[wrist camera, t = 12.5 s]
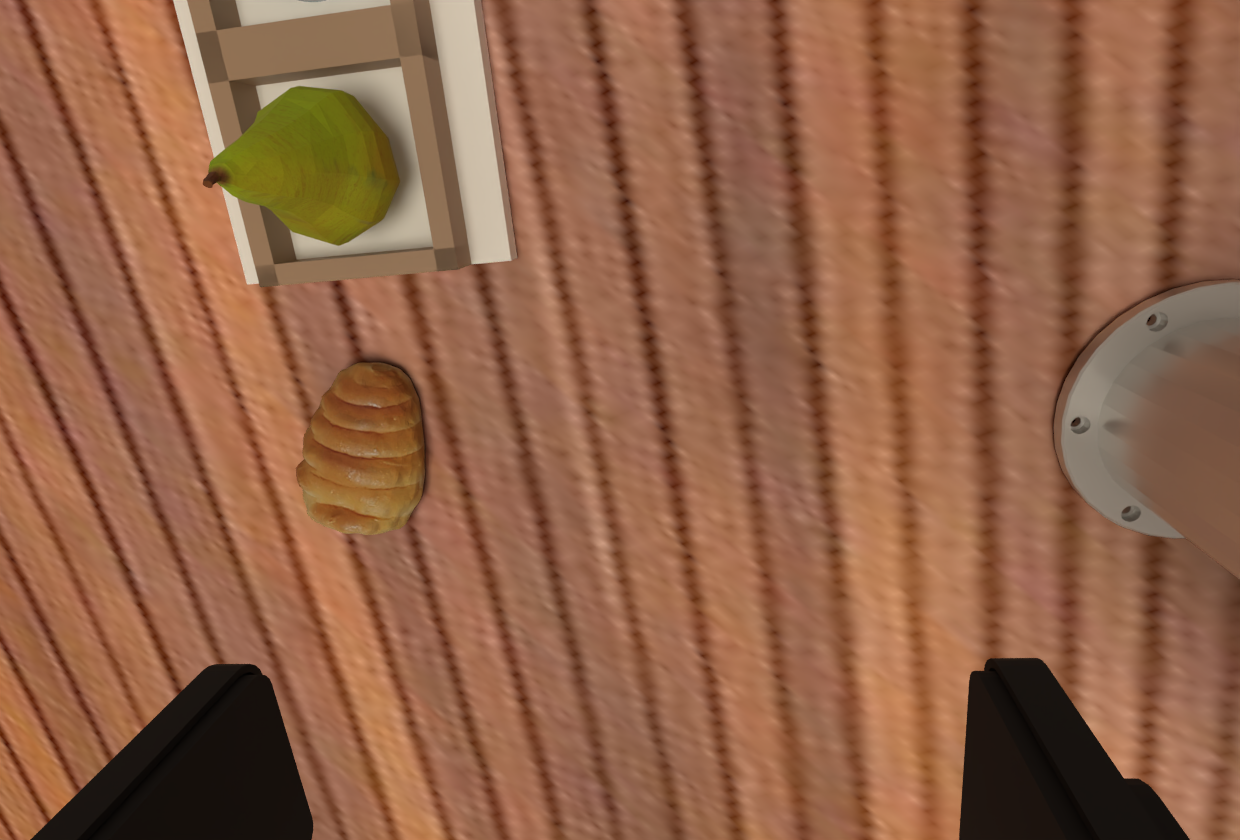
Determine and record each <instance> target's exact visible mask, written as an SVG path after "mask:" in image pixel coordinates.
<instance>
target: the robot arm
mask: <svg viewBox="0 0 1240 840" xmlns="http://www.w3.org/2000/svg"><path fill="white" fill-rule="evenodd" d="M1150 316H1151V319H1150V321H1149V322H1148V323H1147V320H1148V318H1149V317H1150ZM1075 418H1076V421H1075V422H1074V423H1072V421H1073V420H1074V419H1075ZM1054 441H1055V450H1056V453H1057V456H1058V460H1059V463H1060V466H1061V469H1062V471H1063V473H1064V474H1065V476H1066V478H1067V479H1068V481H1069V483H1070V485H1071V486H1072V488H1073V489H1074V490H1075V491H1076V492H1077V493H1078V494H1079V495H1080V496H1081V497H1082V498H1083V499H1084V500H1085V501H1086V502H1087V503H1088V504H1089V505H1090V506H1091V507H1093V508H1094V509H1095V510H1096V511H1098V512H1099V513H1100V514H1101V515H1102V516H1104V517H1105V518H1107V519H1108V520H1110V521H1112V522H1114V523H1116V524H1117V525H1119V526H1121V527H1123V528H1126V529H1129V530H1132V531H1136V532H1139V533H1142V534H1145V535H1149V536H1156V537H1164V538H1172V539H1182V538H1186V539H1188V540H1189V541H1190V542H1191V543H1193V544H1194V545H1195V546H1197V547H1198V548H1199V549H1201V550H1202V551H1203V552H1204V553H1206V554H1207V555H1208V556H1210V557H1211V558H1212V559H1214V560H1215V561H1216V562H1217V563H1219V564H1220V565H1221V566H1223V567H1224V568H1225V569H1227V570H1228V571H1229V572H1230V573H1232V574H1233V575H1234V576H1236V577H1237V578H1238V579H1240V280H1234V279H1229V280H1216V281H1203V282H1198V283H1194V284H1190V285H1186V286H1182V287H1178V288H1174V289H1171V290H1169V291H1166V292H1164V293H1162V294H1159V295H1157V296H1154V297H1152V298H1150V299H1147V300H1145V301H1143V302H1142V303H1140V304H1138V305H1137V306H1135V307H1133V308H1132V309H1130V310H1129V311H1127V312H1125V313H1124V314H1122V315H1120V316H1119V317H1118V318H1117V319H1115V320H1114V321H1113V322H1112V323H1111V324H1110V325H1108V326H1107V327H1106V328H1105V329H1104V330H1102V331H1101V332H1100V333H1099V334H1098V335H1097V336H1096V337H1095V338H1094V339H1093V340H1092V342H1091V343H1090V344H1089V345H1088V346H1087V348H1086V349H1085V350H1084V351H1083V352H1082V353H1081V355H1080V356H1079V357H1078V359H1077V361H1076V362H1075V364H1074V366H1073V367H1072V369H1071V371H1070V372H1069V374H1068V376H1067V377H1066V379H1065V382H1064V385H1063V387H1062V390H1061V393H1060V396H1059V398H1058V401H1057V406H1056V412H1055V419H1054ZM312 834H313V820H312V816H311V812H310V809H309V806H308V802H307V799H306V796H305V792H304V789H303V786H302V782H301V779H300V776H299V773H298V769H297V766H296V763H295V759H294V756H293V753H292V749H291V746H290V743H289V739H288V736H287V733H286V729H285V726H284V723H283V719H282V716H281V713H280V710H279V706H278V703H277V700H276V696H275V693H274V690H273V686H272V683H271V681H270V679H269V678H268V677H267V676H265V675H262V673H261V671H260V669H259V668H258V667H257V666H255V665H252V664H215V665H211V666H208V667H207V668H206V669H204V670H203V671H202V672H201V673H200V674H199V675H198V676H197V677H196V678H195V679H194V680H193V681H192V682H191V683H190V684H189V685H188V686H187V687H186V688H185V689H184V690H182V691H181V692H180V693H179V694H178V695H177V696H176V697H175V698H174V699H173V700H172V701H171V702H170V703H169V704H168V705H167V706H166V707H165V708H164V709H163V710H162V711H161V712H160V713H159V714H158V715H157V716H156V717H155V718H154V719H153V720H152V721H151V722H150V723H149V724H148V725H147V726H146V727H145V728H144V729H143V730H142V731H141V732H140V733H139V734H138V735H137V736H136V737H135V738H134V739H133V740H132V741H131V742H130V743H129V744H128V745H127V746H125V747H124V748H123V749H122V750H121V751H120V752H119V753H118V754H117V755H116V756H115V757H114V758H113V759H112V760H111V761H110V762H109V763H108V764H107V765H106V766H105V767H104V768H103V769H102V770H101V771H100V772H99V773H98V774H97V775H96V776H95V777H94V778H93V779H92V780H91V781H90V782H89V783H88V784H87V785H86V786H85V787H84V788H83V789H82V790H81V791H80V792H79V793H78V794H77V795H76V796H75V797H74V798H73V799H72V800H71V801H69V802H68V803H67V804H66V805H65V806H64V807H63V808H62V809H61V810H60V811H59V812H58V813H57V814H56V815H55V816H54V817H53V818H52V819H51V820H50V821H49V822H48V823H47V824H46V825H45V826H44V827H43V828H42V829H41V830H40V831H39V832H38V833H37V834H36V835H35V836H34V837H33V838H32V839H31V840H311V839H312ZM959 840H1190V839H1189V838H1188V836H1187V835H1186V834H1185V832H1184V831H1183V829H1182V828H1181V827H1180V825H1179V824H1178V822H1177V821H1176V820H1175V818H1174V817H1173V815H1172V814H1171V813H1170V811H1169V810H1168V808H1167V807H1166V806H1165V804H1164V803H1163V802H1162V800H1161V799H1160V797H1159V796H1158V795H1157V794H1156V793H1155V792H1154V791H1153V789H1152V788H1151V787H1150V786H1149V785H1148V784H1146V783H1145V782H1143V781H1141V780H1140V779H1124V778H1123V777H1122V775H1121V774H1120V772H1119V771H1118V769H1117V768H1116V766H1115V765H1114V763H1113V762H1112V761H1111V759H1110V758H1109V756H1108V755H1107V753H1106V752H1105V750H1104V749H1103V747H1102V746H1101V744H1100V743H1099V741H1098V740H1097V739H1096V737H1095V736H1094V734H1093V733H1092V731H1091V730H1090V728H1089V727H1088V725H1087V724H1086V722H1085V721H1084V719H1083V718H1082V717H1081V715H1080V714H1079V712H1078V711H1077V709H1076V708H1075V706H1074V705H1073V703H1072V702H1071V700H1070V699H1069V697H1068V696H1067V694H1066V693H1065V692H1064V690H1063V689H1062V687H1061V686H1060V684H1059V683H1058V681H1057V680H1056V678H1055V677H1054V675H1053V674H1052V672H1051V671H1050V670H1049V668H1048V667H1047V665H1046V664H1045V663H1044V662H1043V661H1042V660H1040V659H1038V658H991V659H989V660H987V662H986V664H985V668H984V671H973V672H972V673H971V675H970V680H969V694H968V710H967V725H966V741H965V756H964V772H963V787H962V803H961V818H960V833H959Z"/></svg>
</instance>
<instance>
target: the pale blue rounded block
mask: <svg viewBox="0 0 1240 840" xmlns="http://www.w3.org/2000/svg"><path fill="white" fill-rule="evenodd" d="M299 1H303V2H322V1H326V0H299Z"/></svg>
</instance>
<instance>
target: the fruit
mask: <svg viewBox="0 0 1240 840" xmlns="http://www.w3.org/2000/svg"><path fill="white" fill-rule="evenodd" d="M216 182H217V183H218V184H219V185H220V186H221V187H223V188H224V189H225V190H226V191H228V192H229V193H230V194H231V195H232V196H234V197H236V198H238V199H240V200H242V201H245V202H248V203H252V204H256V205H261V206H265V207H267V208H268V209H270V210H271V211H272V212H273V213H274V214H275V215H276V216H277V217H278V218H279V219H280V220H281V221H282V222H283V223H284V224H285V225H286V226H287V227H288V228H289V229H290V230H291V231H292V232H294V233H298V234H301V235H304V236H307V237H311V238H314V239H317V240H320V241H323V242H327V243H330V244H333V245H337V246H340V245H343V244H345V243H348V242H350V241H351V240H353V239H354V238H356V237H357V236H359V235H360V234H362V233H363V232H365V231H367V230H368V229H370V228H371V227H373V226H374V225H376V224H377V223H379V222H380V221H382V220H383V219H384V218H385V215H386V213H387V211H388V209H389V206H390V204H391V202H392V199H393V197H394V195H395V193H396V190H397V188H398V186H399V183H400V178H399V175H398V171H397V167H396V164H395V160H394V156H393V153H392V149H391V145H390V142H389V138H388V137H387V136H386V134H385V133H384V132H383V131H382V130H381V128H380V127H379V126H378V125H377V123H376V122H375V121H374V120H373V119H372V117H371V116H370V115H369V114H368V113H367V111H366V110H365V109H364V108H363V106H362V105H361V104H360V103H359V102H358V100H357V99H356V98H355V97H354V96H353V95H350V94H348V93H346V92H344V91H342V90H333V89H324V88H314V87H305V86H296V87H293V88H290V89H288V90H287V91H286V92H284V93H283V94H282V95H280V96H279V97H278V98H276V99H275V100H273V101H272V102H271V103H269V104H268V105H267V106H265V107H264V108H263V109H261V110H260V111H258V112H257V116H256V119H255V122H254V123H253V124H252V125H251V126H250V127H249V128H248V129H247V130H246V131H245V133H244V134H242V135H241V136H240V137H239V138H238V139H237V140H236V141H235V142H233V143H232V144H231V145H229V146H228V147H227V148H226V149H224V150H223V151H222V152H221V153H219V154H218V155H217V156H216V157H215V158H214V159H213V160H212V161H211V162H210V165H209V174H208V175H207V177H206V178H205V179H204V180H203V185H204V186H206V187H208V188H212V185H213V184H215V183H216Z"/></svg>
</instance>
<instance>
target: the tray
mask: <svg viewBox="0 0 1240 840" xmlns="http://www.w3.org/2000/svg"><path fill="white" fill-rule="evenodd" d="M173 1H174V5H175V9H176V12H177V16H178V20H179V24H180V28H181V32H182V36H183V39H184V43H185V47H186V51H187V55H188V59H189V62H190V66H191V70H192V74H193V78H194V82H195V86H196V89H197V93H198V97H199V101H200V105H201V109H202V112H203V116H204V120H205V124H206V128H207V132H208V136H209V139H210V143H211V147H212V151H213V155H214V158H215V157H216V156H217V155H218V154H219V153H221V152H222V151H223V150H224V149H226V148H227V147H228V146H229V145H231V144H232V143H233V142H235V141H236V140H237V139H238V138H239V137H240V136H241V135H242V134H244V133H245V131H246V130H247V129H248V128H249V127H250V126H251V125H252V124H253V123H254V122H255V119H256V116H257V112H258V111H260V110H261V109H263V108H264V107H265V106H267V105H268V104H269V103H271V102H272V101H273V100H275V99H276V98H278V97H279V96H280V95H282V94H283V93H284V92H286V91H287V90H288V89H290V88H293V87H296V86H305V87H314V88H324V89H333V90H342V91H344V92H346V93H348V94H350V95H353V96H354V97H355V98H356V99H357V100H358V102H359V103H360V104H361V105H362V106H363V108H364V109H365V110H366V111H367V113H368V114H369V115H370V116H371V117H372V119H373V120H374V121H375V122H376V123H377V125H378V126H379V127H380V128H381V130H382V131H383V132H384V133H385V134H386V136H387V137H388V138H389V142H390V145H391V149H392V153H393V156H394V160H395V164H396V167H397V171H398V175H399V178H400V183H399V186H398V188H397V190H396V193H395V195H394V197H393V199H392V202H391V204H390V206H389V209H388V211H387V213H386V215H385V218H384V219H383V220H382V221H380V222H379V223H377V224H376V225H374V226H373V227H371V228H370V229H368V230H367V231H365V232H363V233H362V234H360V235H359V236H357V237H356V238H354V239H353V240H351V241H350V242H348V243H345V244H343V245H340V246H337V245H333V244H330V243H327V242H323V241H320V240H317V239H314V238H311V237H307V236H304V235H301V234H298V233H294V232H292V231H291V230H290V229H289V228H288V227H287V226H286V225H285V224H284V223H283V222H282V221H281V220H280V219H279V218H278V217H277V216H276V215H275V214H274V213H273V212H272V211H271V210H270V209H268V208H267V207H265V206H261V205H256V204H252V203H248V202H245V201H242V200H240V199H238V198H236V197H234V196H232V195H231V194H230V193H229V192H228V191H226V190H225V189H224V188H223V187H222V189H223V193H224V197H225V201H226V205H227V209H228V213H229V216H230V220H231V224H232V228H233V232H234V236H235V239H236V243H237V247H238V251H239V255H240V259H241V263H242V266H243V270H244V274H245V278H246V282H247V284H258V283H259V285H260V287H267V286H278V285H290V284H301V283H312V282H323V281H334V280H345V279H357V278H368V277H379V276H390V275H401V274H413V273H424V272H435V271H446V270H457V269H461V268H463V267H466V266H468V265H471V264H480V263H491V262H502V261H512V260H514V259H516V258H517V252H516V244H515V237H514V230H513V223H512V216H511V209H510V202H509V195H508V188H507V181H506V174H505V166H504V159H503V152H502V145H501V138H500V131H499V124H498V117H497V110H496V103H495V96H494V88H493V81H492V74H491V67H490V60H489V53H488V46H487V39H486V32H485V25H484V18H483V10H482V3H481V0H326V1H322V2H303V1H299V0H173Z"/></svg>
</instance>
